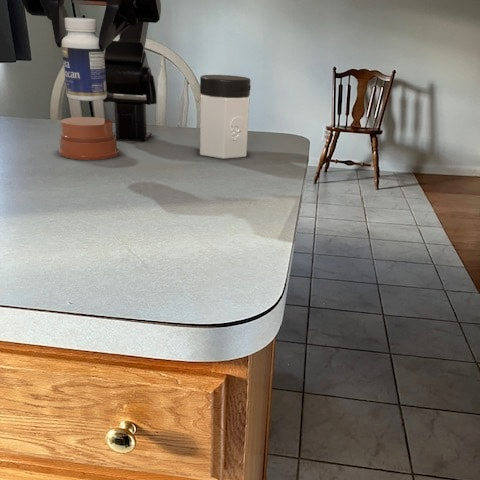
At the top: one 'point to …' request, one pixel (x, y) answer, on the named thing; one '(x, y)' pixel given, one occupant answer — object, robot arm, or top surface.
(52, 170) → the top surface
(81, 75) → the pill bottle
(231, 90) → the jar
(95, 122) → the cup stack
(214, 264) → the top surface
